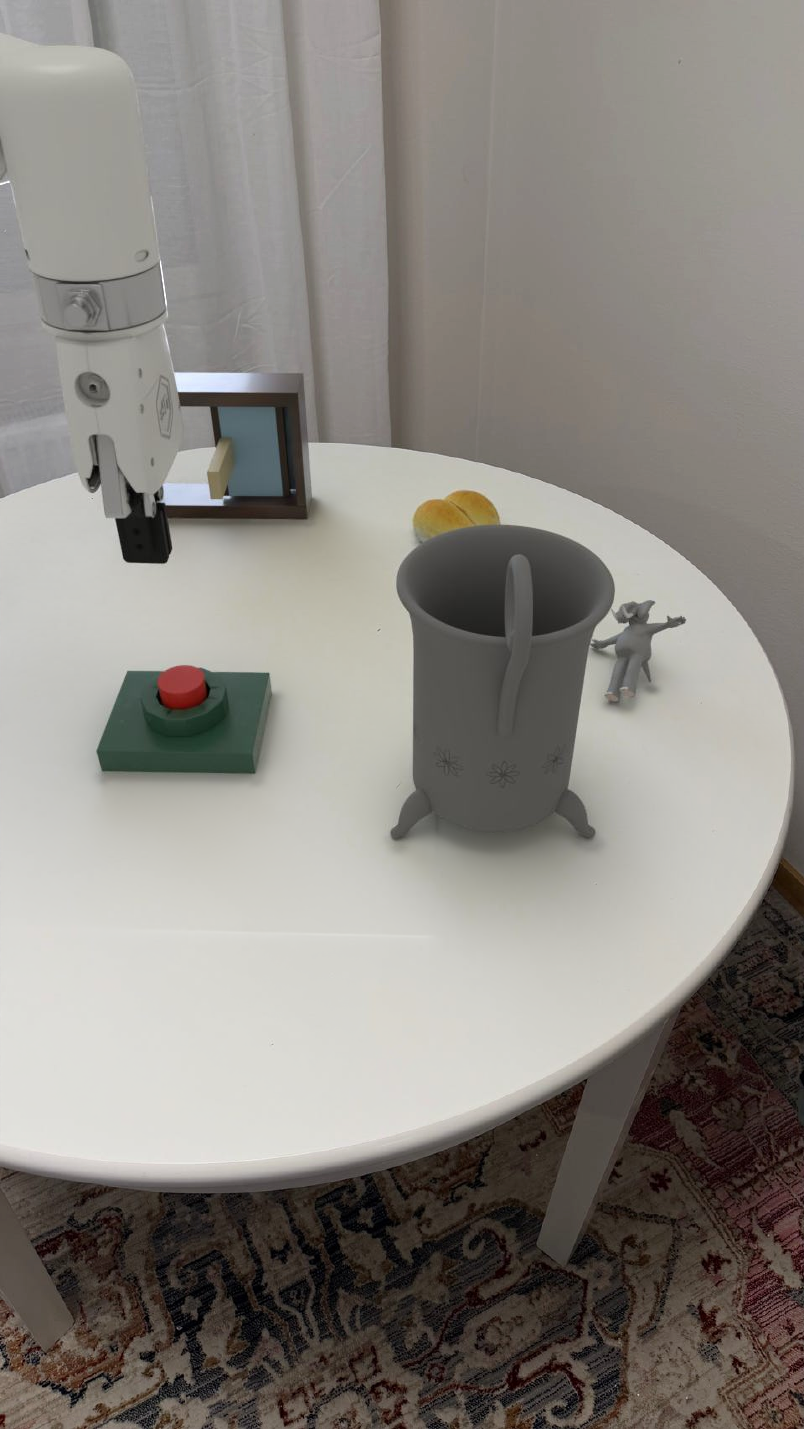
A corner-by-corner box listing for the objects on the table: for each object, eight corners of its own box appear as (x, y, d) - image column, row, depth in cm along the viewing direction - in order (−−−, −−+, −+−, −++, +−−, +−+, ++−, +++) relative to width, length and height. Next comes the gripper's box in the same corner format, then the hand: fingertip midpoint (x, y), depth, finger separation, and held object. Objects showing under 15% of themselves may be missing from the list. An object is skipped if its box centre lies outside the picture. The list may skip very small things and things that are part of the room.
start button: (156, 710, 78) (152, 693, 77) (166, 681, 81) (162, 664, 80) (202, 711, 78) (199, 693, 77) (210, 682, 81) (207, 665, 80)
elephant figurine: (552, 690, 86) (577, 606, 90) (596, 726, 88) (619, 643, 92) (646, 665, 78) (669, 574, 82) (691, 705, 81) (711, 615, 85)
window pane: (209, 532, 102) (195, 436, 96) (222, 493, 109) (210, 400, 102) (281, 532, 102) (272, 436, 95) (291, 493, 108) (283, 401, 102)
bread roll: (399, 528, 106) (398, 494, 104) (470, 506, 110) (471, 473, 107) (440, 563, 101) (441, 528, 98) (513, 540, 104) (516, 505, 102)
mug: (391, 724, 82) (385, 436, 66) (572, 723, 82) (610, 435, 66) (389, 906, 68) (381, 596, 52) (608, 904, 68) (669, 594, 52)
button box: (101, 771, 78) (91, 733, 76) (132, 690, 86) (123, 653, 83) (255, 774, 78) (249, 735, 75) (272, 692, 85) (267, 655, 83)
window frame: (141, 517, 108) (116, 391, 99) (151, 495, 112) (128, 372, 103) (307, 519, 108) (297, 392, 99) (312, 496, 112) (303, 373, 103)
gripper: (133, 342, 55) (179, 619, 67) (187, 257, 66) (218, 507, 78) (-4, 339, 55) (67, 616, 67) (74, 255, 66) (122, 504, 78)
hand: (148, 556), depth 72 cm, fingers closed
